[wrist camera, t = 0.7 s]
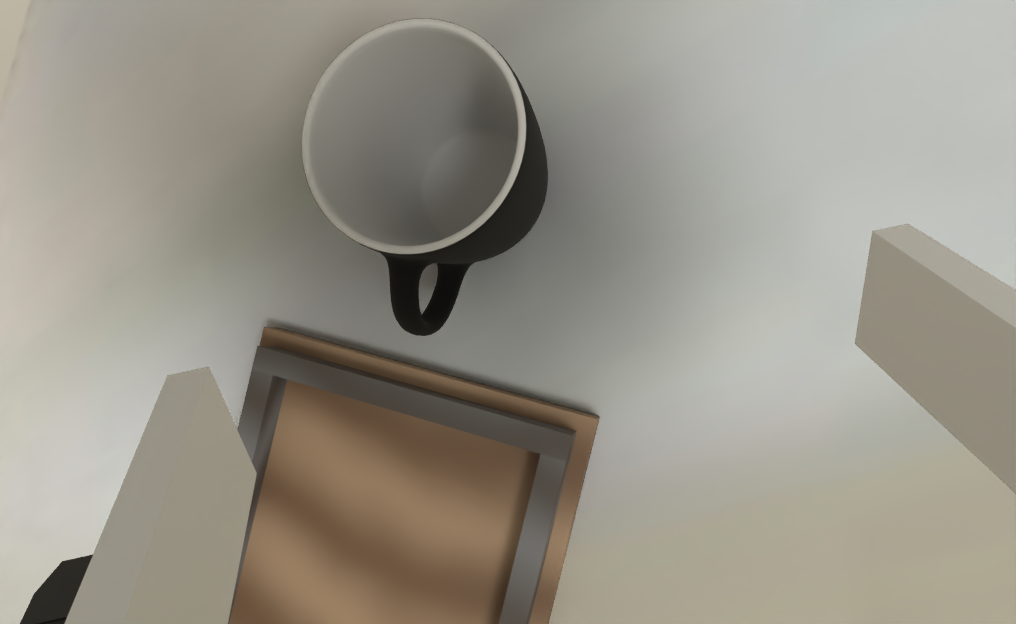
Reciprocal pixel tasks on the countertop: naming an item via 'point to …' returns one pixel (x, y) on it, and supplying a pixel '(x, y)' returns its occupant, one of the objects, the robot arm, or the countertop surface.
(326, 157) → the mug
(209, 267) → the countertop surface
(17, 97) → the countertop surface
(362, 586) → the wooden tray
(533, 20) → the countertop surface
